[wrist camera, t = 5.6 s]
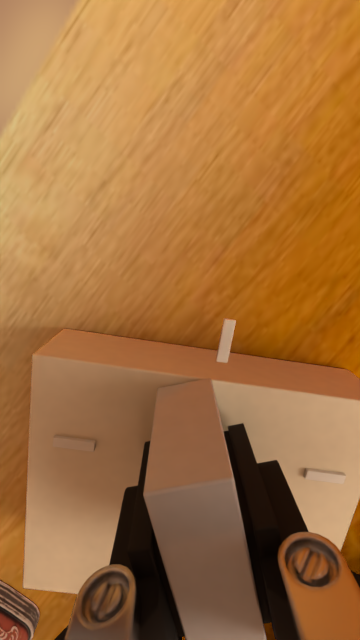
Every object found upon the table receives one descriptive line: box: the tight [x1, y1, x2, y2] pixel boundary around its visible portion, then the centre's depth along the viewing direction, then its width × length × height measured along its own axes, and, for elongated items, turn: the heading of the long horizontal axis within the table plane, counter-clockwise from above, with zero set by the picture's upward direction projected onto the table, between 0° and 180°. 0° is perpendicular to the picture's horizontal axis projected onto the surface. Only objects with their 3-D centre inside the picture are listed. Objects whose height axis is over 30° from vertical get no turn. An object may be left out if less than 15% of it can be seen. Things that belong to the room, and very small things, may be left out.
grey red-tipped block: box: [143, 378, 267, 640], centre depth 9 cm, size 6×2×5 cm, turn 12°
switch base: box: [23, 318, 360, 594], centre depth 13 cm, size 12×12×3 cm
